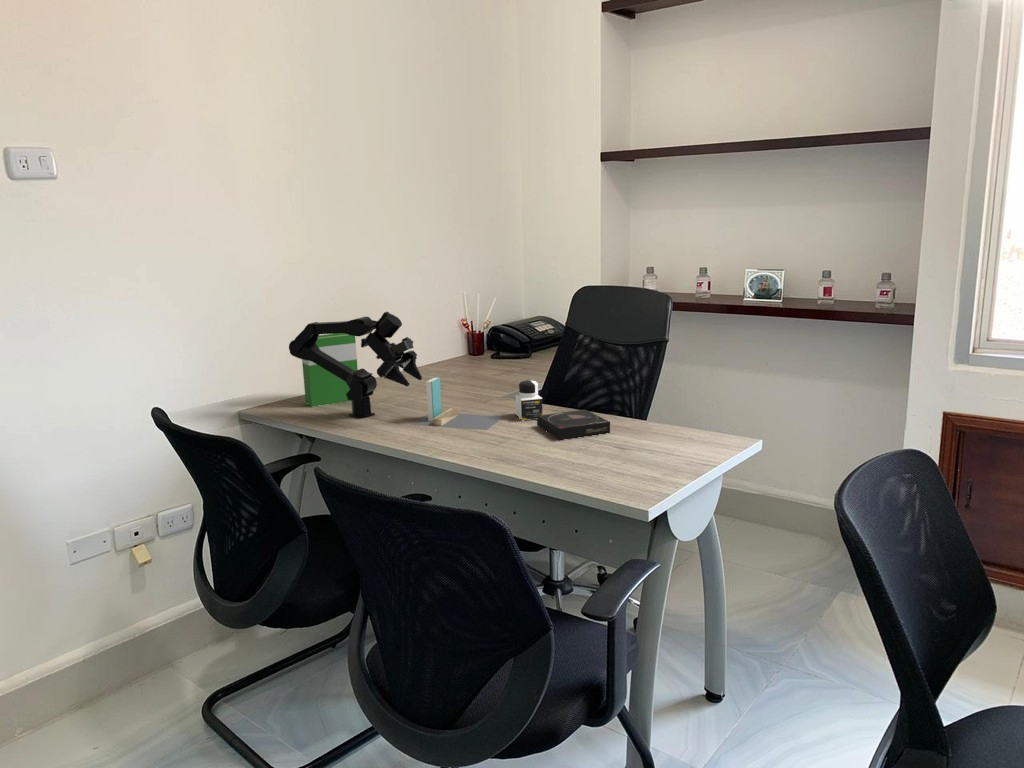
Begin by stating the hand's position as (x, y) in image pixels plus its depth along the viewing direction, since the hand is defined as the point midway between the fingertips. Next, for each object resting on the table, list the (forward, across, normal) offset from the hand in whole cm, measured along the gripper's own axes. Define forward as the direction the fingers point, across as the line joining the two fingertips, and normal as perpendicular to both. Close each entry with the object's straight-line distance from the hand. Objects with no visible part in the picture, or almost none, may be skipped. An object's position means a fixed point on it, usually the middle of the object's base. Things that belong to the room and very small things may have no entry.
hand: (415, 382), depth 248 cm
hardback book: (-20, +15, +38) cm, 46 cm away
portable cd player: (+46, 0, -28) cm, 54 cm away
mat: (+19, 0, -2) cm, 19 cm away
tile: (+8, 0, -1) cm, 8 cm away
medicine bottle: (+34, +10, -16) cm, 39 cm away
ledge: (+16, 0, +1) cm, 16 cm away
